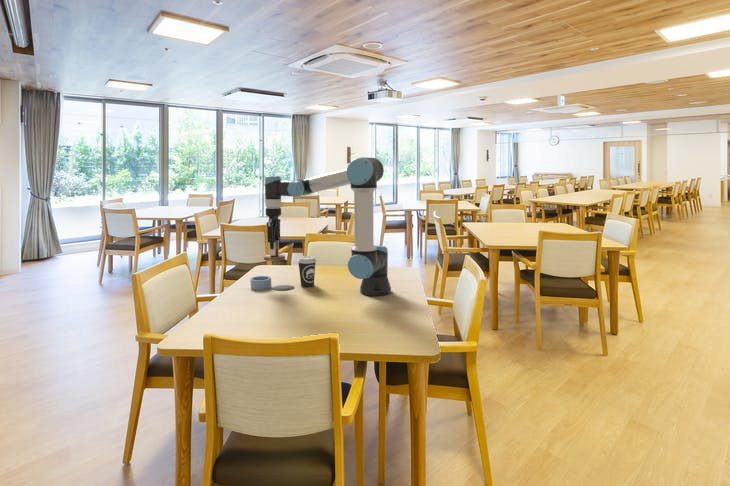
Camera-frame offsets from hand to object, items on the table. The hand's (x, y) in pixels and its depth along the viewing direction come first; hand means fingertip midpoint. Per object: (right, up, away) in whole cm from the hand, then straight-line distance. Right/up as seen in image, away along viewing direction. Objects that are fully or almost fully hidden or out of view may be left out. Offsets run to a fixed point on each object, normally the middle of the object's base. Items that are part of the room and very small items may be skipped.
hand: (274, 254), depth 234 cm
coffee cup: (+16, -17, +7) cm, 24 cm away
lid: (0, -2, 0) cm, 2 cm away
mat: (+4, -17, +2) cm, 18 cm away
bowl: (-7, -17, +4) cm, 19 cm away
